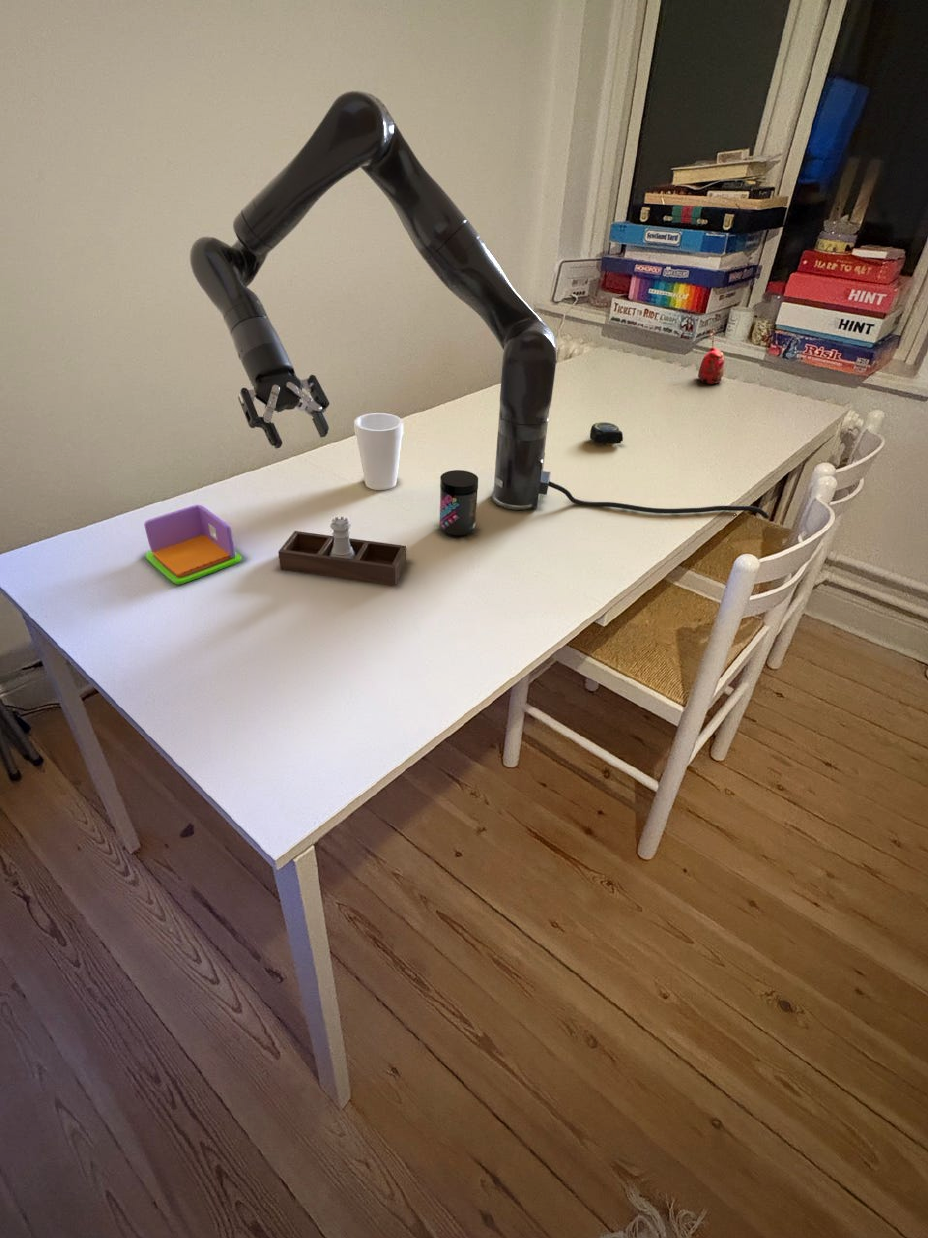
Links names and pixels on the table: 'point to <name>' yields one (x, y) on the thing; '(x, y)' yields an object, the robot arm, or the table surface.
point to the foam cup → (379, 448)
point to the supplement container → (458, 503)
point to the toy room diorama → (190, 544)
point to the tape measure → (605, 433)
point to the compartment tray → (368, 565)
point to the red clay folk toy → (712, 365)
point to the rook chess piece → (341, 539)
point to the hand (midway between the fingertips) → (302, 440)
